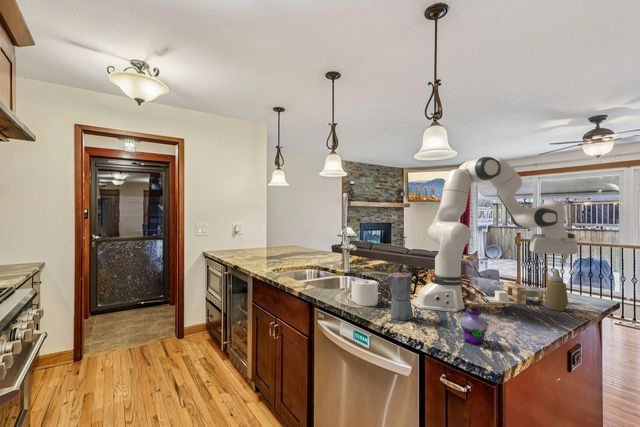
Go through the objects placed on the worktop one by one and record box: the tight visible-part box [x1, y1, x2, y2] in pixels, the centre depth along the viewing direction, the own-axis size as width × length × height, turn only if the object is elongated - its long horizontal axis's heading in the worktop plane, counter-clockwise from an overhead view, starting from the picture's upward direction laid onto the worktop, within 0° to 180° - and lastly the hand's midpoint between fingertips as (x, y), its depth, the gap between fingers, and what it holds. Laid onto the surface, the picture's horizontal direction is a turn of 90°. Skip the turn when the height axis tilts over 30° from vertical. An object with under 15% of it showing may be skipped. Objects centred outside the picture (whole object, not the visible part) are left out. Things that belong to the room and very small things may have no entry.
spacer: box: [494, 290, 508, 301], centre depth 147 cm, size 4×4×4 cm
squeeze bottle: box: [545, 268, 569, 312], centre depth 134 cm, size 8×8×18 cm
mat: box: [484, 296, 517, 305], centre depth 147 cm, size 10×10×1 cm
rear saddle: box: [534, 294, 547, 305], centre depth 146 cm, size 4×8×4 cm, turn 175°
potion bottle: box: [459, 304, 490, 346], centre depth 98 cm, size 9×9×12 cm
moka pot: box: [385, 267, 420, 321], centre depth 122 cm, size 10×15×20 cm, turn 113°
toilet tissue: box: [350, 279, 379, 307], centre depth 141 cm, size 11×12×10 cm
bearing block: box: [503, 281, 527, 306], centre depth 147 cm, size 4×12×8 cm, turn 175°
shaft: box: [526, 279, 551, 298], centre depth 146 cm, size 20×4×8 cm, turn 85°
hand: (552, 262), depth 145 cm, fingers open, 8 cm apart
